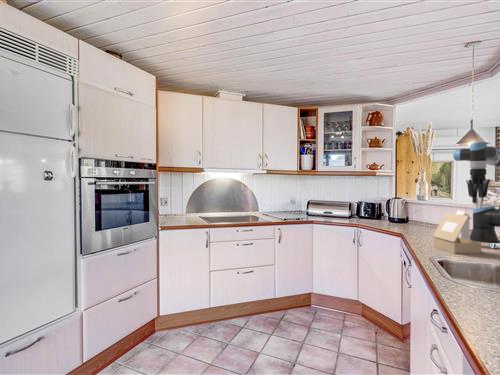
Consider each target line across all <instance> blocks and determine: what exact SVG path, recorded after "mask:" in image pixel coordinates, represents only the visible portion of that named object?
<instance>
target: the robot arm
mask: <svg viewBox="0 0 500 375" xmlns="http://www.w3.org/2000/svg"><path fill="white" fill-rule="evenodd" d="M487 144H488V143H487V142H486V141H475V142H472V143H470V146H469V147H470V148H469V147H468V148H459V149H456V150H454V151H453V154H452V157H453V160H455V161H456V162H458V161H459V162H462V161H465V162H470V163H469V168H470V169H469V175H470V178H469V179H466V180H465V181H466V184H467V185H466V186H467V190H468V196H469V197H470V198H472V202H471V203H472V209H473V210H472V229H471V232H470V234H469V240H471V241H475V242H480V243H498V242H499V238H498V235H497V233H496V228H495V227H498V228H500V205H499V207H498V208H496V207H495V206H483V202H484V198H485V197H487V196H488V190H489V184H490V182H491V180H490V179H487V177H486V175H487V169H486V168H487V165H489V166H494V167H500V150H499V149H498V147H495V146H493V145H491V146H488V145H487Z"/></svg>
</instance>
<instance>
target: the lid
mask: <svg viewBox="0 0 500 375" xmlns="http://www.w3.org/2000/svg"><path fill="white" fill-rule="evenodd" d="M469 216H470V215H469ZM469 216H466V215H459V214H455V213H451V212H445V214H444V215H443V217H442V219H441V221H440V222H439V225H438V226H437V227H436V230H434V233H433V235H432V237H433V238H438V239H442V240H446V241H449V242H453V243H456V242H455V241H456V239H457V237H458V236H459V234H460V232H461V230H462V228H463V226H464V225H465V223H466V221H467V219H470V220H471V219H472V217H469Z"/></svg>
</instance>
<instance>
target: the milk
mask: <svg viewBox="0 0 500 375" xmlns="http://www.w3.org/2000/svg"><path fill="white" fill-rule="evenodd" d="M454 214H459V215H466V216H469V217H470V215H469V214H468V213H466V210H463V209H457V210H456V212H455V213H454ZM470 218H471V217H470ZM470 220H471V219H467V221H466V223H465V225H464V226H463V228H462V230H461V232H460V234H459V236H458V237H459V238H463V239H467V240H470Z"/></svg>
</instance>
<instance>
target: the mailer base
mask: <svg viewBox="0 0 500 375" xmlns="http://www.w3.org/2000/svg"><path fill="white" fill-rule="evenodd" d="M455 242H456V243H453V242H449V241H446V240H442V239H438V238H435V237H433V248H436V249H438V250H441V251H444V252H447V253H449V254H450V253H451V254H453V255H457V254H459V255H460V254H462V255H463V254H482V242H480V241H474V240H470V239H469V240H467V239H463V238H459V237H457V239H456V241H455Z"/></svg>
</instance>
